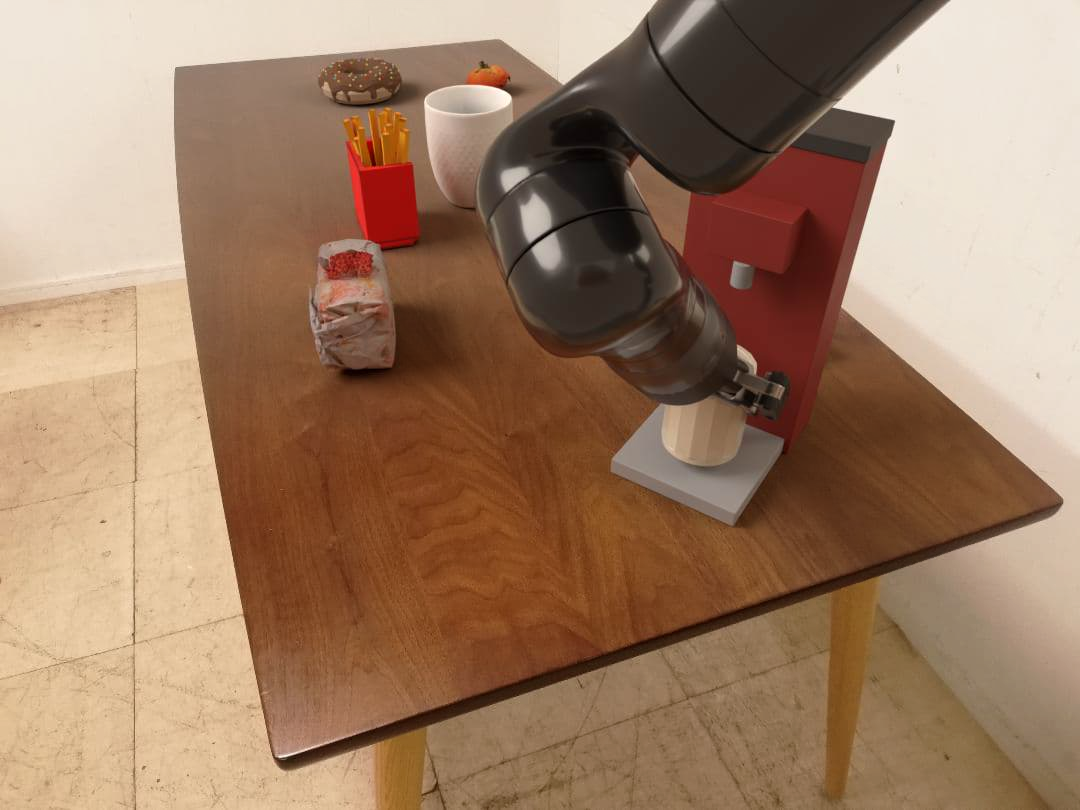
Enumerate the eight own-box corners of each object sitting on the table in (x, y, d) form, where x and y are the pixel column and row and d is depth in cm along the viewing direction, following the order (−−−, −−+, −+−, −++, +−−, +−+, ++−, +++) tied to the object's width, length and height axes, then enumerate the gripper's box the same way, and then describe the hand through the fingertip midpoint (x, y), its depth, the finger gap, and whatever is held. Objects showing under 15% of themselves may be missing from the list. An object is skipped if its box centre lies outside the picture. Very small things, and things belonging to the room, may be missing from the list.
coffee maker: (739, 530, 63) (817, 204, 46) (603, 469, 69) (628, 155, 52) (811, 419, 74) (895, 120, 57) (688, 373, 79) (732, 86, 62)
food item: (405, 375, 79) (394, 286, 72) (320, 386, 77) (301, 296, 71) (391, 301, 89) (381, 217, 83) (316, 310, 87) (300, 225, 81)
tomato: (500, 71, 146) (504, 48, 139) (515, 106, 145) (520, 84, 138) (458, 84, 144) (460, 60, 137) (472, 119, 144) (475, 97, 136)
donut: (347, 115, 133) (343, 83, 130) (307, 93, 141) (302, 63, 138) (421, 96, 140) (419, 66, 137) (379, 76, 148) (376, 47, 145)
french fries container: (408, 212, 106) (398, 102, 97) (425, 244, 99) (415, 130, 90) (354, 219, 104) (338, 109, 95) (367, 253, 97) (351, 137, 88)
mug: (445, 167, 117) (438, 73, 109) (521, 171, 116) (521, 76, 108) (423, 214, 105) (414, 112, 97) (508, 218, 105) (506, 116, 96)
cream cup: (741, 422, 69) (758, 344, 64) (737, 472, 65) (755, 393, 60) (666, 409, 71) (677, 332, 66) (656, 458, 66) (667, 379, 61)
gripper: (800, 314, 48) (821, 376, 63) (589, 247, 54) (655, 318, 69) (749, 432, 48) (782, 465, 63) (543, 351, 54) (619, 399, 69)
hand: (715, 388), depth 66 cm, fingers closed on cream cup, 6 cm apart
